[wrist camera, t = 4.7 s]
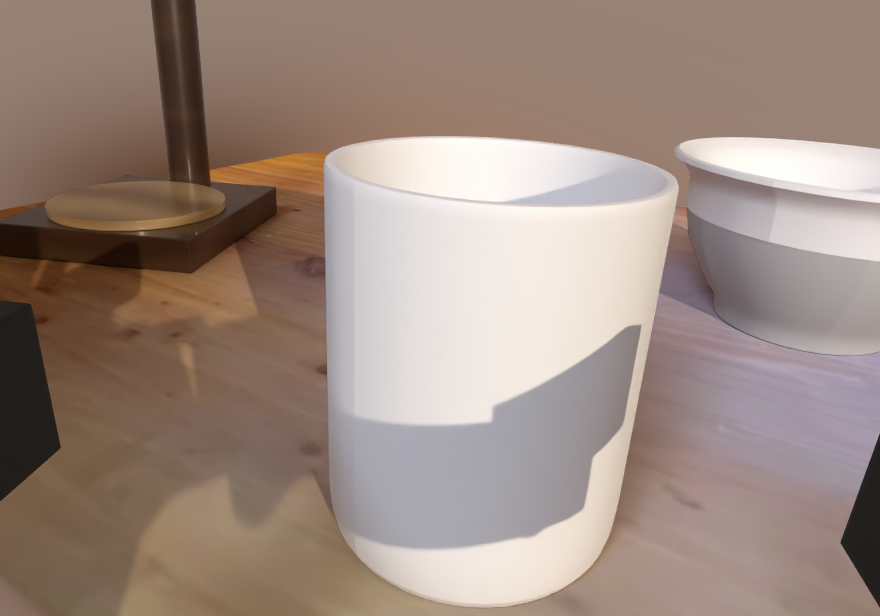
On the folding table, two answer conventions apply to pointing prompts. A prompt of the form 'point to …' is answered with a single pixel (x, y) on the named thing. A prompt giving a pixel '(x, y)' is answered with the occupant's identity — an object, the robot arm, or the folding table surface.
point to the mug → (486, 355)
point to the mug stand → (151, 184)
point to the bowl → (789, 239)
